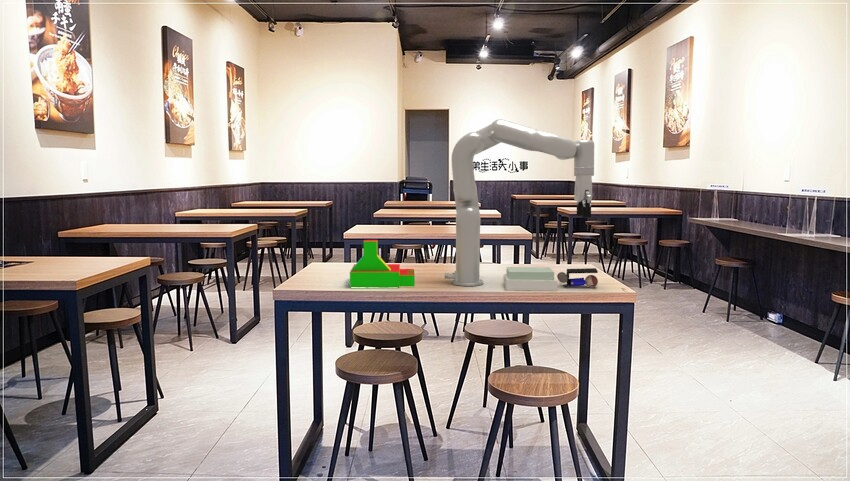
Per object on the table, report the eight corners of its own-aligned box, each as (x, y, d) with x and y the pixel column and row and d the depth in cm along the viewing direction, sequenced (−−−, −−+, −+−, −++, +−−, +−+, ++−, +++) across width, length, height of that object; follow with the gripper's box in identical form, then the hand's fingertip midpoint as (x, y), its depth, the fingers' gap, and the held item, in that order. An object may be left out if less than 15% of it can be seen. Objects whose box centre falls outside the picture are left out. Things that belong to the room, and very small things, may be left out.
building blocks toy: (414, 288, 226) (414, 241, 223) (350, 289, 225) (349, 242, 223) (414, 279, 244) (413, 236, 242) (354, 279, 244) (353, 236, 241)
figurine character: (559, 291, 226) (599, 288, 224) (557, 272, 225) (598, 269, 223) (558, 288, 233) (597, 285, 230) (556, 269, 232) (595, 266, 230)
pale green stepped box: (506, 290, 221) (506, 272, 220) (503, 283, 234) (503, 266, 233) (556, 290, 220) (557, 272, 220) (551, 284, 233) (551, 267, 232)
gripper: (569, 172, 234) (569, 214, 236) (579, 172, 217) (579, 218, 219) (588, 172, 234) (588, 214, 236) (599, 172, 217) (599, 217, 219)
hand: (583, 216), depth 228 cm, fingers open, 9 cm apart
